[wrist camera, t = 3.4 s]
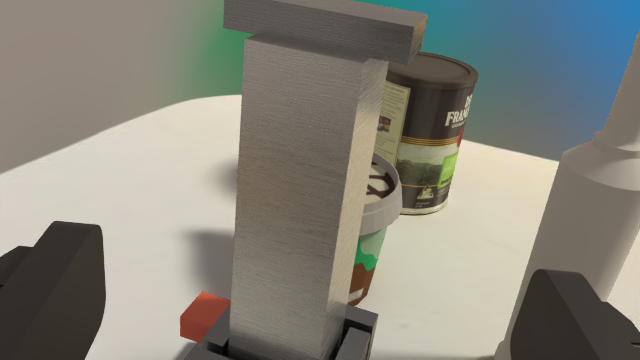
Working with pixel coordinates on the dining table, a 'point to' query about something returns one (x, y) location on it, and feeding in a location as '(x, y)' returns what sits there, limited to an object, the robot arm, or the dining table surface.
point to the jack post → (306, 164)
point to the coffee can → (424, 126)
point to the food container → (374, 223)
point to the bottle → (593, 202)
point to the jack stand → (214, 323)
